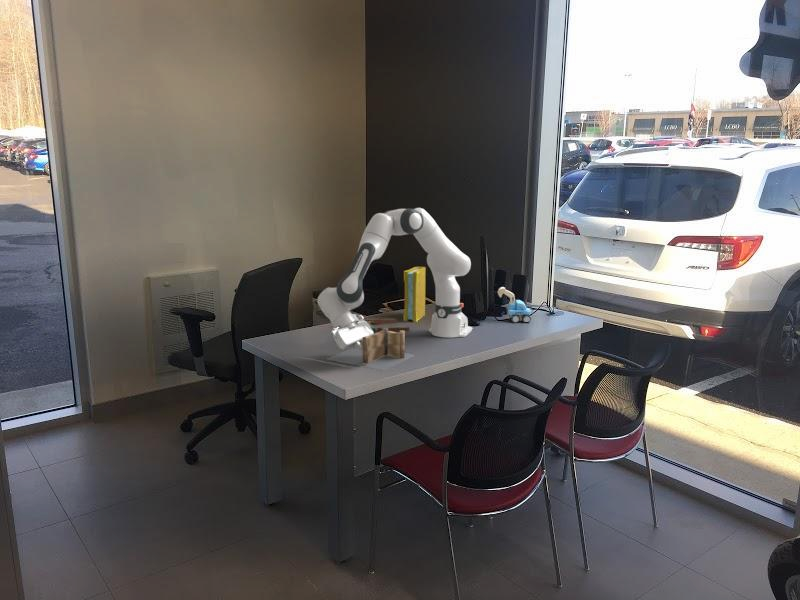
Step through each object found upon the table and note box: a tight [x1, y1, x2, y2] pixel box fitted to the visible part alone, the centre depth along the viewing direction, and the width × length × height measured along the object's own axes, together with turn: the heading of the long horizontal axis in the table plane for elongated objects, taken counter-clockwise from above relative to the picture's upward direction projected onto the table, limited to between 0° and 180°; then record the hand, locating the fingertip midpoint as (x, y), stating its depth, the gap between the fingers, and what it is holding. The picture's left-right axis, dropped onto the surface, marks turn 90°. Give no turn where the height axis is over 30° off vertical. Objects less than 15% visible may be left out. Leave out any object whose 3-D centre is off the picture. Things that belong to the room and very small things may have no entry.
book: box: [403, 266, 426, 323], centre depth 332 cm, size 17×7×25 cm, turn 159°
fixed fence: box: [382, 328, 406, 358], centre depth 267 cm, size 10×2×11 cm, turn 59°
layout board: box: [325, 345, 416, 372], centre depth 267 cm, size 24×28×1 cm
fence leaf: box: [363, 330, 385, 364], centre depth 261 cm, size 15×2×10 cm, turn 151°
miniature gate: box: [363, 318, 410, 334], centre depth 312 cm, size 27×6×30 cm
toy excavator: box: [497, 286, 532, 323], centre depth 327 cm, size 9×17×17 cm, turn 88°
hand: (365, 351), depth 259 cm, fingers closed
